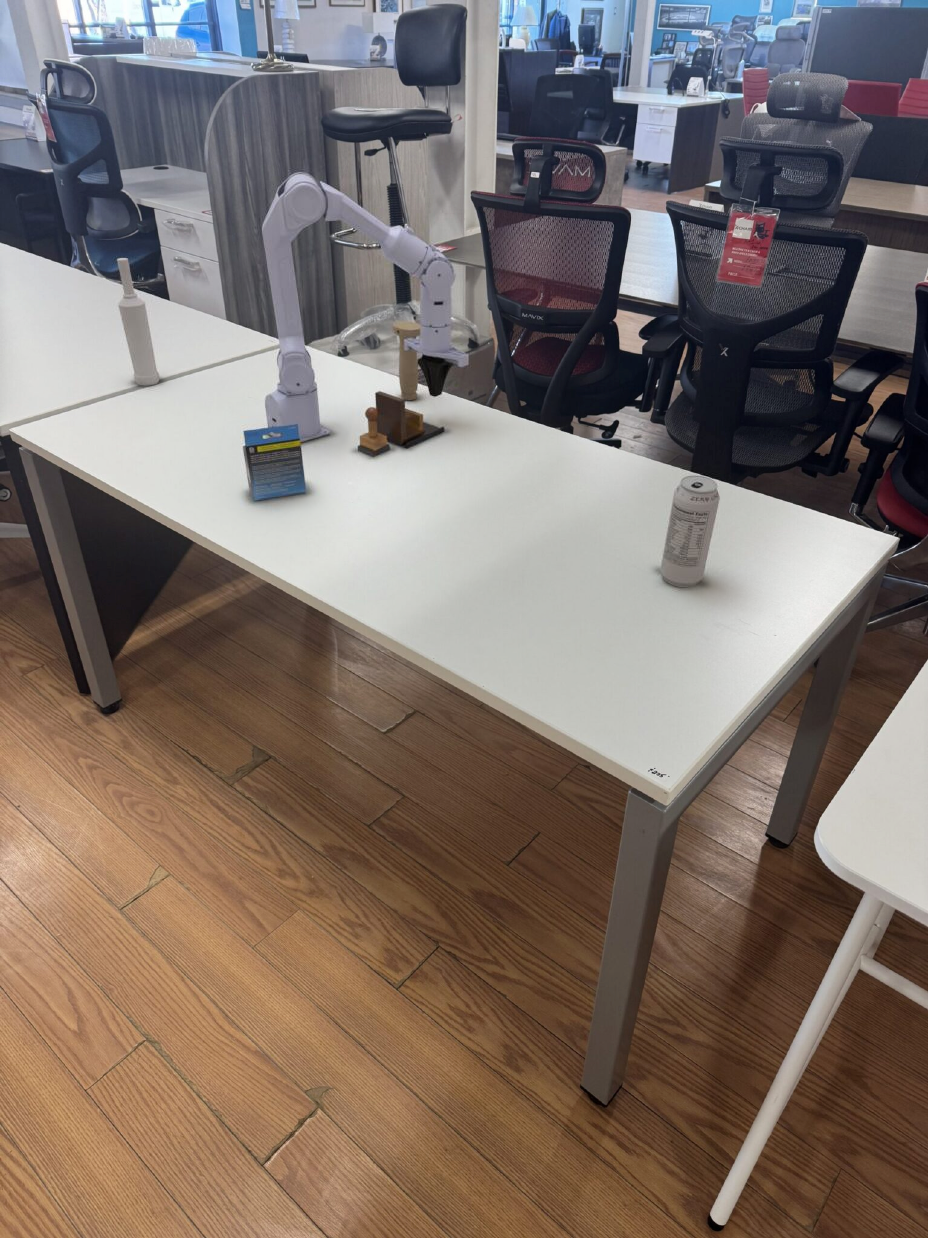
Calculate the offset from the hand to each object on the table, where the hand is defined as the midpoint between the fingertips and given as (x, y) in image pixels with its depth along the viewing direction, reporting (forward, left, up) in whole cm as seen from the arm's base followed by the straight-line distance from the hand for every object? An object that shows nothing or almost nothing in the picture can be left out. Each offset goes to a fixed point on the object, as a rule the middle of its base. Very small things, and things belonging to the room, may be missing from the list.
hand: (435, 394), depth 163 cm
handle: (+4, +14, -6) cm, 16 cm away
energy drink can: (-7, -66, -6) cm, 67 cm away
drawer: (-10, -2, -5) cm, 11 cm away
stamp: (-14, -2, -4) cm, 15 cm away
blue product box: (-39, -7, -6) cm, 40 cm away
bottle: (-35, +56, -6) cm, 66 cm away
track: (-7, -1, -6) cm, 9 cm away
